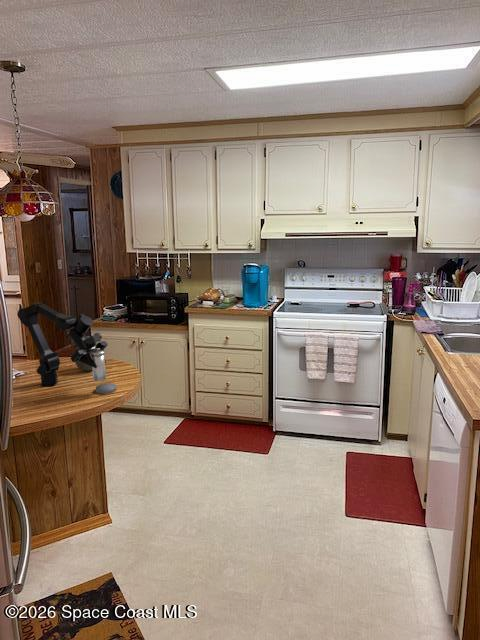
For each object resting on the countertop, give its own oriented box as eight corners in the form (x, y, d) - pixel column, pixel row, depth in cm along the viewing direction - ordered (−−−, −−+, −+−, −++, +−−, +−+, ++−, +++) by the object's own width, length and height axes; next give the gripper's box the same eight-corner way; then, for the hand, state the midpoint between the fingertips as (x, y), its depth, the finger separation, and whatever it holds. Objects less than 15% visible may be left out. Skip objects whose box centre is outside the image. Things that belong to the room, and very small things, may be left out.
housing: (91, 382, 206) (89, 353, 204) (92, 377, 212) (90, 350, 210) (106, 381, 208) (104, 352, 205) (107, 376, 214) (105, 349, 211)
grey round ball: (76, 376, 236) (73, 347, 233) (74, 368, 249) (72, 341, 246) (105, 372, 241) (102, 344, 238) (102, 364, 254) (100, 338, 251)
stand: (93, 394, 211) (93, 390, 210) (99, 387, 219) (98, 383, 219) (113, 394, 211) (113, 389, 210) (118, 387, 220) (118, 383, 219)
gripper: (73, 332, 198) (95, 360, 196) (103, 323, 215) (123, 349, 213) (61, 348, 203) (82, 375, 201) (91, 338, 220) (111, 363, 218)
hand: (101, 365), depth 208 cm, fingers closed on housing, 6 cm apart
